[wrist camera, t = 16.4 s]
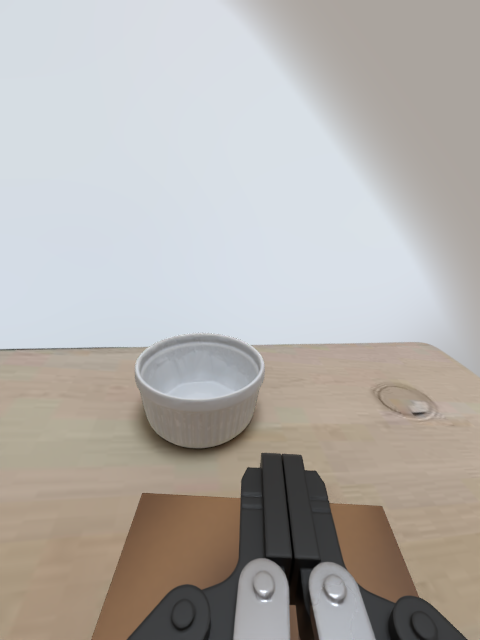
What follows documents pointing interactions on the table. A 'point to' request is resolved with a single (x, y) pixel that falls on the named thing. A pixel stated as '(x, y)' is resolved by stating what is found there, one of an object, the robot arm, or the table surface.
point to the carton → (229, 555)
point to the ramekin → (199, 387)
